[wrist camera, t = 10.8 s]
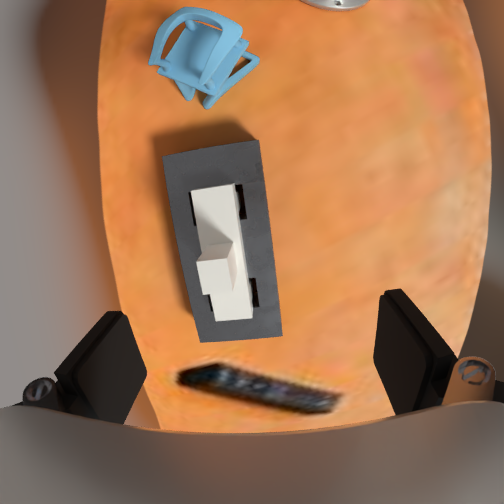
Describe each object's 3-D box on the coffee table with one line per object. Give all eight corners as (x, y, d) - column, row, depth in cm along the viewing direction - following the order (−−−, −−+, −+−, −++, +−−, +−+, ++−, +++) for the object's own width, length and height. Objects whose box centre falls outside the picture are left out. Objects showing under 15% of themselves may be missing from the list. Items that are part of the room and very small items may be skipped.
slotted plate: (173, 156, 32) (162, 156, 28) (259, 142, 31) (258, 139, 28) (206, 326, 39) (200, 342, 35) (281, 319, 38) (282, 336, 34)
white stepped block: (202, 186, 33) (175, 196, 23) (237, 181, 32) (225, 189, 22) (222, 299, 37) (207, 347, 27) (254, 296, 36) (250, 344, 26)
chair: (169, 93, 30) (124, 66, 19) (203, 36, 28) (176, -11, 16) (225, 118, 31) (203, 97, 19) (261, 60, 29) (257, 14, 17)
